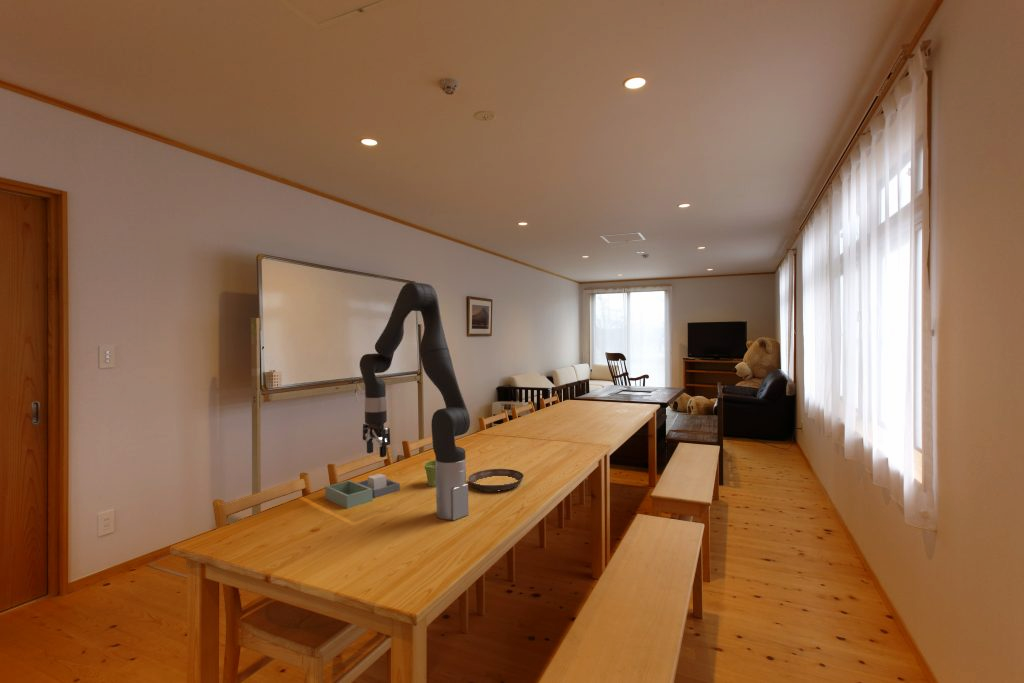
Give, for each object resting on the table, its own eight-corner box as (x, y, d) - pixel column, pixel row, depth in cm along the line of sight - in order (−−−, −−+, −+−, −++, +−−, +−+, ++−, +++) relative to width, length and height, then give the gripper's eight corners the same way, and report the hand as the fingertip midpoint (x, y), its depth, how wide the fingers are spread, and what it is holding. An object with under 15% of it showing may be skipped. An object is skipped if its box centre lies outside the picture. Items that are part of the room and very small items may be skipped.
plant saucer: (459, 491, 168) (459, 482, 168) (480, 474, 188) (480, 466, 188) (513, 496, 162) (513, 487, 162) (530, 478, 181) (530, 470, 181)
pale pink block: (386, 489, 168) (386, 475, 168) (374, 493, 164) (373, 478, 164) (380, 487, 170) (380, 473, 170) (368, 490, 167) (367, 476, 167)
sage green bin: (372, 503, 156) (372, 488, 156) (347, 511, 150) (347, 496, 150) (349, 494, 166) (349, 480, 166) (325, 501, 160) (325, 486, 160)
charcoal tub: (399, 493, 166) (399, 483, 166) (374, 500, 159) (374, 490, 159) (379, 485, 175) (379, 476, 175) (355, 492, 168) (354, 483, 168)
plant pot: (436, 492, 166) (435, 468, 166) (418, 487, 172) (418, 464, 172) (454, 485, 174) (454, 462, 174) (437, 481, 180) (436, 458, 179)
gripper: (396, 410, 165) (396, 456, 165) (374, 406, 174) (374, 449, 175) (377, 413, 159) (377, 460, 159) (355, 408, 169) (356, 453, 169)
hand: (376, 454), depth 167 cm, fingers open, 8 cm apart
